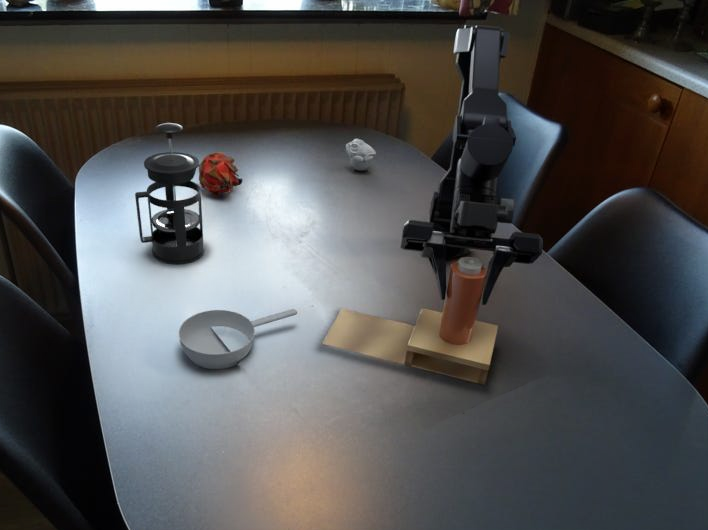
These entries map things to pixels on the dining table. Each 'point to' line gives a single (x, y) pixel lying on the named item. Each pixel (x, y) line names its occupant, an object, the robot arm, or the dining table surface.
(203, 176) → the dragon fruit
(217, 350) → the saucepan
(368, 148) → the frog figurine
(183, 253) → the french press
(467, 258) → the pepper mill
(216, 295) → the dining table surface
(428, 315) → the stand
